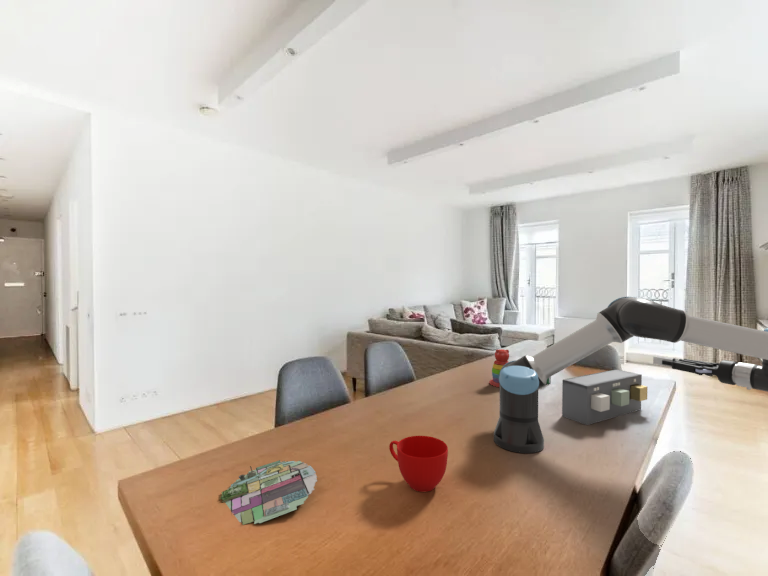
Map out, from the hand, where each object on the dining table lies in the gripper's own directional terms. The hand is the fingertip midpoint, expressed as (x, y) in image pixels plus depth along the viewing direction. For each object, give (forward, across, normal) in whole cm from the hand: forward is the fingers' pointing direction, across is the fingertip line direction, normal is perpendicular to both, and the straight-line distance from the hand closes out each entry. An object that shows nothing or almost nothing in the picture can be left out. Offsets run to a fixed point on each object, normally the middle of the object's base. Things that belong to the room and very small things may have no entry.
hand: (655, 359), depth 141 cm
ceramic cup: (+4, -103, -22) cm, 106 cm away
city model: (+17, -138, -23) cm, 141 cm away
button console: (+12, -12, -22) cm, 28 cm away
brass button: (+7, 0, -17) cm, 18 cm away
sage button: (+7, -12, -17) cm, 22 cm away
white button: (+7, -24, -17) cm, 30 cm away
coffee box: (+53, +3, -22) cm, 57 cm away
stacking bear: (+59, -19, -22) cm, 66 cm away
